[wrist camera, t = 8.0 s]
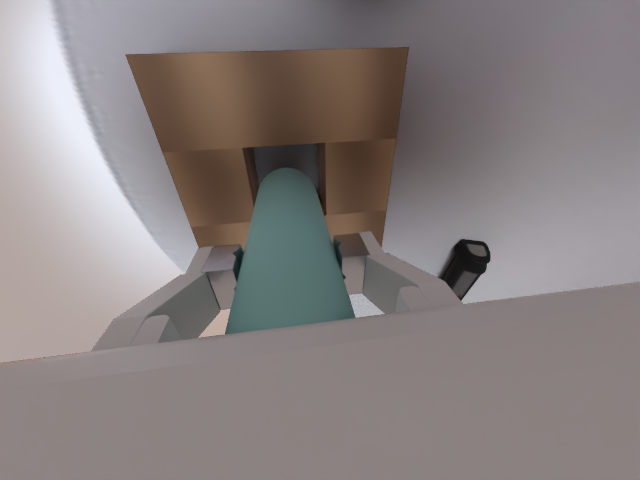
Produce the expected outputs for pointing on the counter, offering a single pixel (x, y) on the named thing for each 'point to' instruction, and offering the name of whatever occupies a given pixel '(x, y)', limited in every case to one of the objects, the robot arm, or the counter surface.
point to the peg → (288, 260)
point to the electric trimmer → (467, 266)
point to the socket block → (275, 129)
